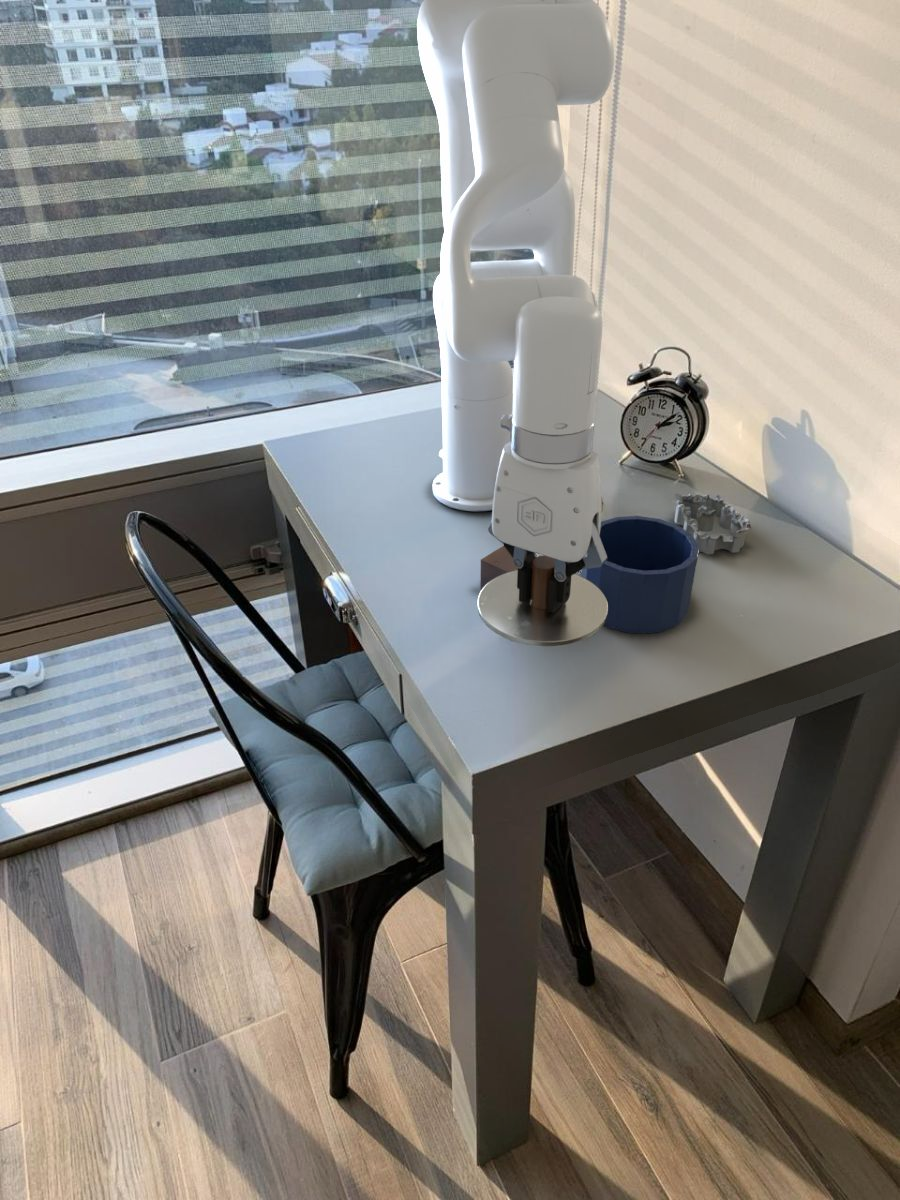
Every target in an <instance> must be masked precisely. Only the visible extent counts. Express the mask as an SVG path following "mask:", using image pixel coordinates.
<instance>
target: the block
mask: <svg viewBox="0 0 900 1200" xmlns="http://www.w3.org/2000/svg"><path fill="white" fill-rule="evenodd" d="M516 570H518V568H516V567H515V566H514V564H513V557H512V556H511V555H510V553H509V552H508V551H507V549H506V548H505V547H504V545H503V546H501V547H498V548H497V549H495V550H494V551H492V552H490V553H489V554H487V555H486V556H484V557H483V558H481V559H480V581H479V583H480V587H479V588H480V592H481V591H482V589H483V588H484V587H485V586H486V584H488V583H489V582H490V581H491V580H493V579H495V578H496V577H498V576H501V575H503V574H505V573H508V572H512V571H516ZM480 592H479V593H480Z"/></svg>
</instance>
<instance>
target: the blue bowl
mask: <svg viewBox="0 0 900 1200" xmlns="http://www.w3.org/2000/svg"><path fill="white" fill-rule="evenodd" d="M600 539H601V541H602V544H603V547H604V550H605V552H606V555H607V560H606V561H605V562H604V563H603V565H602V566H601V567H596V568H589V569H586V568H585V569H581V570H580V571H581V572H580V577H583V578H585V579H587V580H588V581H590V582H592V583H593V584H594V585H596V586H597V587H598V588H599V589H600V590H601V591H602V593H603V594H604V596H605V598H606V600H607V603H608V614H607V619H606V621H605V623H604V624H603V626H604V627H607V628H609V629H612V630H615V631H618V632H623V633H628V634H629V633H630V634H638V635H639V634H640V635H641V634H643V635H644V634H656V633H661V632H664V631H668V630H670V629H673V628H674V627H676V626H678V625H680V624H681V623H682V622H683V621H684V620H685V619H686V618H687V615H688V613H689V609H690V603H691V597H692V592H693V585H694V581H695V574H696V570H697V565H698V564H697V563H698V557H699V553H700V551H699V545H698V544H697V542H696V540H695V539H694V537H693V536H692V535H691V534H690V533H688V532H687V531H685V530H684V529H683V528H682V527H681V525H679V524H676V523H672V522H670V521H667V520H664V519H661V518H656V517H648V516H642V515H623V516H616V517H612V518H609V519H604V520H601V528H600Z"/></svg>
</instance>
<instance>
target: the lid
mask: <svg viewBox="0 0 900 1200" xmlns="http://www.w3.org/2000/svg"><path fill="white" fill-rule="evenodd" d="M517 575H518V570H516V571H512V572H508V573H505V574H503V575H501V576H498V577H496V578H495V579H493V580H491V581H490V582H489V583H488V584H486V586H485V587H484V588H483V589H482V591H481V592H479V594H478V597H477V613H478V615H479V617H480V619H481V621H482V622H483V624H485V626H486V627H487V628H488V629H490V631H492V632H493V633H495V634H496V635H499V636H500V637H502V638H505V639H506V640H509V641H511V642H515V643H518V644H523V645H527V646H534V647H561V646H566V645H572V644H575V643H579V642H581V641H583V640H584V641H585V640H586V639H588V638H590V637H592V636H593V635H595V634H596V633H597V632H598V631H599V630H600V629H601V628H602V627H603V626H604V625H603V624H604V623H605V621H606V619H607V614H608V603H607V600H606V598H605V596H604V594H603V593H602V591H601V590H600V589H599V588H598V587H597V586H596V585H594V584H593V583H592V582H590V581H588V580H587V579H585V578H583V577H581V575H578V574H576V573H575V574H573V575H571V588H570V597H569V599H568V601H567V602H566V603H565V604H562V605H561V606H560V607H559V608H558V609H557V610H556V611H555V612H554V613H552V612H549V611H548V609H547V604H548V588H549V580H550V578H551V577H552V576H553V575H554V558H551V557H548V556H544V555H538V556H536V558H534V559H533V560H532V573H531V594H530V599H529V600H528V601H527V602H525V603H523V602H520V601H519V589H518V588H517Z"/></svg>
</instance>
